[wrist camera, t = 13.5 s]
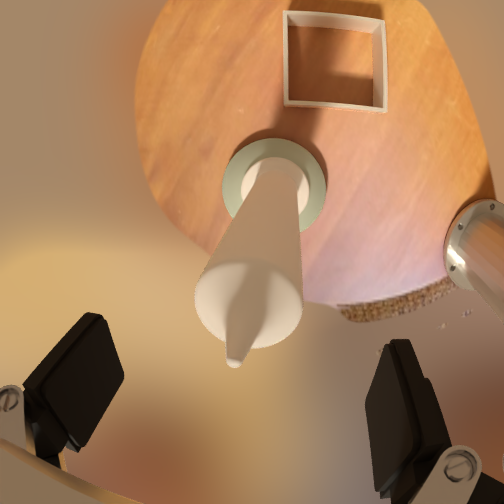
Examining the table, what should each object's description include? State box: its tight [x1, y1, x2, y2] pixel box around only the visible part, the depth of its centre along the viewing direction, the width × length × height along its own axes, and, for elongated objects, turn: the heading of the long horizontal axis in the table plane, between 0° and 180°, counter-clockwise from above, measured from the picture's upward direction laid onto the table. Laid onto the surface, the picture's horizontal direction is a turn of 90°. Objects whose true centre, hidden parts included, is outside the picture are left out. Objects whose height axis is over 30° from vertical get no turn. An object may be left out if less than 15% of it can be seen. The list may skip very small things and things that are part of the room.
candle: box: [195, 157, 309, 368], centre depth 21 cm, size 7×7×25 cm
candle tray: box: [283, 11, 387, 114], centre depth 25 cm, size 10×10×4 cm
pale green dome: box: [222, 138, 326, 233], centre depth 33 cm, size 11×11×1 cm
